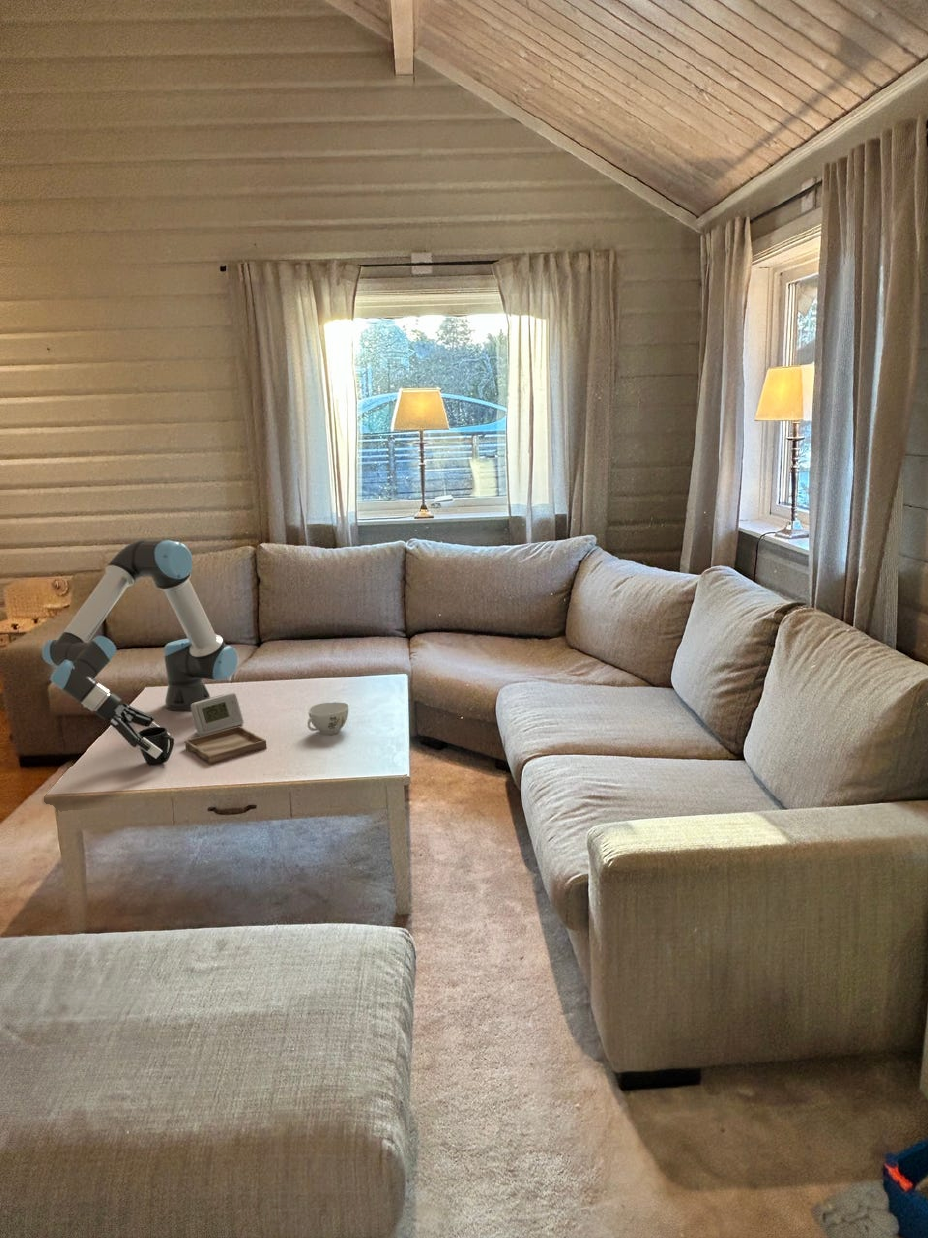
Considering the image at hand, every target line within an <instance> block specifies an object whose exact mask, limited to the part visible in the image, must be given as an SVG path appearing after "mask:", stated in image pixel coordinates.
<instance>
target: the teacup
mask: <svg viewBox="0 0 928 1238" xmlns="http://www.w3.org/2000/svg"><path fill="white" fill-rule="evenodd" d="M308 716H309V718H308V720H307V728H308V730H310V731H312V732H314V731H319V732H320V733H321V734H322V735H327V736H329V735H330V736H331V735H335V734H338V733H340V732H341V730H342V728H343V727H344V726H345V724H346V722H347V720H348V716H349V705H348V703H346V702H345V703H344V702H334V701H333V702H322V703H318V704H315V705H313V706H311V707H309V708H308ZM311 723H312V725H313V727H314V728H313V727H311Z"/></svg>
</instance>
